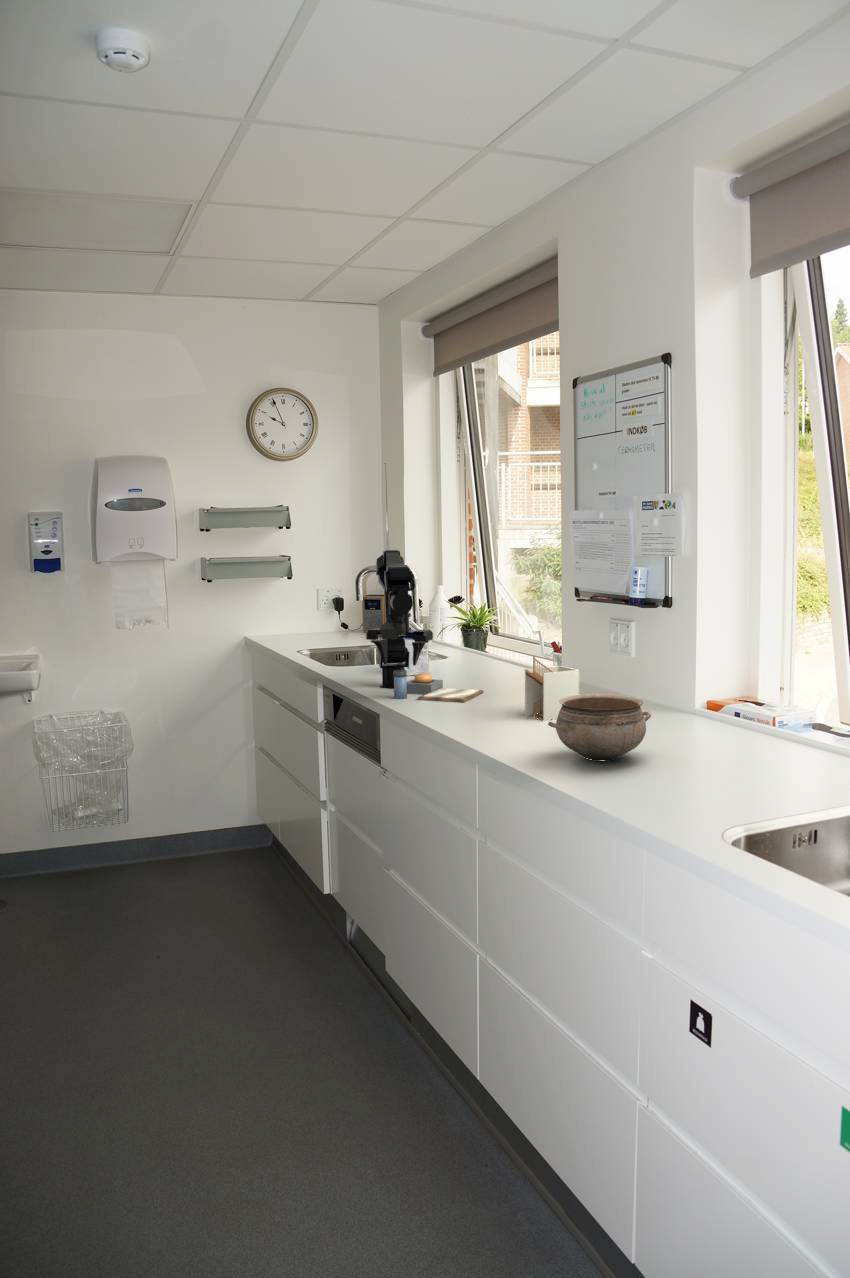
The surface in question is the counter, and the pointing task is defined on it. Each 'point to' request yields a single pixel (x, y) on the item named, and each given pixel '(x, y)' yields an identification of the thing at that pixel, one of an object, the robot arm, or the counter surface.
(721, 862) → the counter surface
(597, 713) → the cooking pot
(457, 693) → the board
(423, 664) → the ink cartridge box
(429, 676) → the button
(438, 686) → the button housing
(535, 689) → the model staircase
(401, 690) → the blue tumbler
